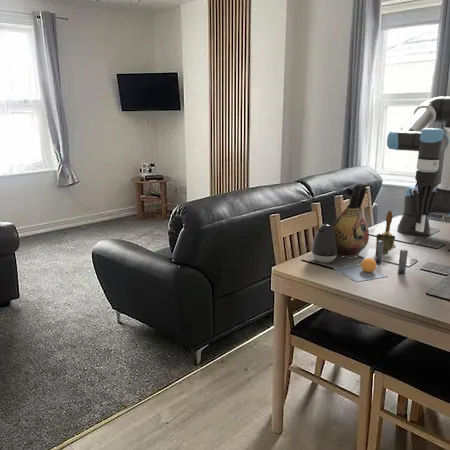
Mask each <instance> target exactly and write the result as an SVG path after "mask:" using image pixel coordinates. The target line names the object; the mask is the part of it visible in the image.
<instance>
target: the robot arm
mask: <svg viewBox="0 0 450 450" xmlns="http://www.w3.org/2000/svg"><path fill="white" fill-rule="evenodd" d="M435 123H436V124H444V127H443V129H445V131H446V132H447V133H445V132H444V130H443V129H442V128H438V127H437V128H436V127H428V126H429V125H431V124H435ZM427 127H428V128H427ZM386 146H387V149H389V150H395V151H408V152H418V154H417V155H418V156H417V161H416V169H417V170H416V171H415V181H416V183H415V185H410V186H408V187H406V190H405V195H404V203H403V210H402V216H401V218H400V221H399V222H398V224H397V228H396V229H397V232H399V233H401V234H403V235H404V234H405V235H408V236H409V235H410V236H416V235H417V236H418V237H419V235H424V236H429V235H430V234H431V227H430V221H429V216H430V214H435V215H441V216H448V217H450V96H437V97H433V98H430V99H428V100H426V101H424V102H422V103H420V104H419V105H418V106H417V107H416V108H415V109H414V112H413V115H412V116H411V117H410V118H409V119H408V120H407V121H406V123H405V124H404V125H403V126H402V127H401V129H399V130H391V131H390V132H389V133H388V134H387V139H386ZM443 151H444V154H443V164H442V170H441V171H442V172H441V177H440V178H441V179H440V183H439V184H437V186H436V182H437V181H438V176H439V172H438V170H439V165H440V159H441V153H442V152H443ZM428 234H429V235H428ZM417 236H416V237H417Z"/></svg>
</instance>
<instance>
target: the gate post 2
mask: <svg viewBox="0 0 450 450" xmlns="http://www.w3.org/2000/svg"><path fill="white" fill-rule="evenodd" d="M408 253H409V251H408V250H407V249H400V250H399V260H398V266H397V268H398V269H397V274H398V275H400V276H405V274H406V270H407V269H406V268H407V261H408Z"/></svg>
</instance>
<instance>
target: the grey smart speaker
mask: <svg viewBox="0 0 450 450" xmlns="http://www.w3.org/2000/svg"><path fill="white" fill-rule="evenodd" d="M332 227H333V225H330V224H328V223H324V224H322V225H321V226H320V227H319V228H318V229H317V231H316V234H315V236H314V238H313V242H312V245H311V253H312V257H313V258H314V260H315V261H317V262H319V263H321V262H322V264H329V263H331V262H333V261H335V259H336V257H337V256H338V255H337V254H338V245H337V239H336V234H335V231H334V229H333V228H332Z"/></svg>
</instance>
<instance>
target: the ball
mask: <svg viewBox="0 0 450 450" xmlns="http://www.w3.org/2000/svg"><path fill="white" fill-rule="evenodd" d="M360 264H361V268H362V270H363V271H365V272H367V273H371V272H373V271H374V270H376V269H377V264H376V262H375V259H373V258H371V257H366V258H364V259H363V260H361V263H360Z"/></svg>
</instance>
